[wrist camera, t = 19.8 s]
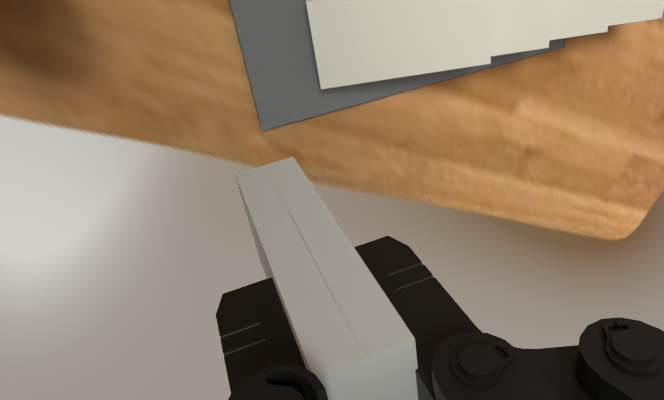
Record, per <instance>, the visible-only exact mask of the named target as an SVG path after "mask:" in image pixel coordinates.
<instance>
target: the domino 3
mask: <svg viewBox="0 0 664 400" xmlns="http://www.w3.org/2000/svg"><path fill="white" fill-rule="evenodd" d="M611 2H612V0H552V12H551V25H550V38H549V40H555V39H562V38H569V37H575V36H582V35H589V34H595V33H602V32H607V30H608V23H609V16H610V9H611Z"/></svg>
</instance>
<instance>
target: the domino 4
mask: <svg viewBox="0 0 664 400" xmlns="http://www.w3.org/2000/svg"><path fill="white" fill-rule="evenodd" d="M663 10H664V0H612V2H611V9H610V16H609V23H608V26H611V25H617V24H624V23H631V22H638V21H645V20H651V19H658V18H662V15H663Z"/></svg>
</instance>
